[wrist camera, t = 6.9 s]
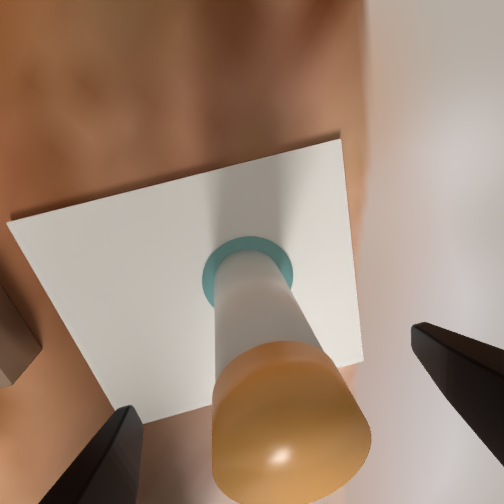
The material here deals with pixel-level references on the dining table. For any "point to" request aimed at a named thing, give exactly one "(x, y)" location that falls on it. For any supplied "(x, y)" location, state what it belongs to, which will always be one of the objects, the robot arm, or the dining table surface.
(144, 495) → the dining table surface
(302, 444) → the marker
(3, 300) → the button housing
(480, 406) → the robot arm
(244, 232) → the paper
